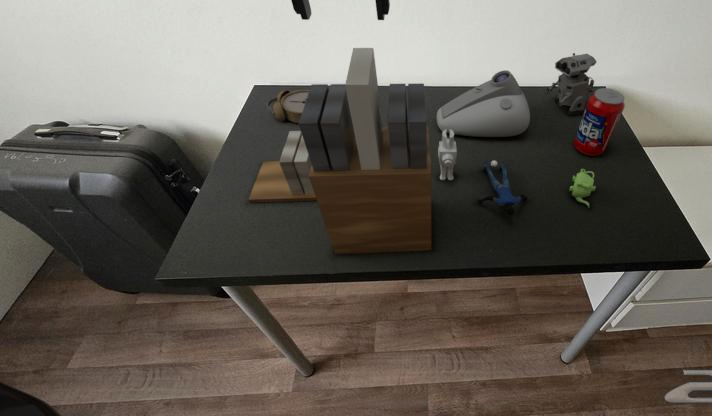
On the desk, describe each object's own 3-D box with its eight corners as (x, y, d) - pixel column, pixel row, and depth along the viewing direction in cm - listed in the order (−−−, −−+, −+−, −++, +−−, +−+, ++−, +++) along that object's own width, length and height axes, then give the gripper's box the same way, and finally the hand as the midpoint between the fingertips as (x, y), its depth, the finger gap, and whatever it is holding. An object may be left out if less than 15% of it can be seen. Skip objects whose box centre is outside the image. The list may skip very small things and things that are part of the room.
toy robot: (453, 164, 87) (456, 121, 78) (455, 186, 82) (458, 144, 73) (437, 164, 87) (438, 121, 78) (438, 187, 81) (439, 144, 73)
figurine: (537, 101, 107) (549, 50, 96) (573, 97, 109) (589, 47, 98) (550, 119, 101) (565, 67, 90) (588, 114, 103) (606, 63, 92)
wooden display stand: (318, 200, 77) (306, 164, 70) (249, 202, 76) (230, 166, 69) (326, 163, 85) (316, 127, 78) (264, 164, 84) (248, 128, 77)
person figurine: (469, 176, 87) (483, 227, 73) (470, 159, 84) (484, 210, 70) (514, 173, 88) (536, 224, 74) (517, 157, 85) (540, 206, 71)
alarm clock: (323, 114, 93) (260, 106, 90) (324, 130, 97) (263, 123, 94) (329, 91, 101) (270, 83, 98) (329, 106, 104) (272, 99, 101)
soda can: (610, 154, 91) (635, 101, 80) (585, 161, 89) (606, 107, 78) (591, 136, 96) (612, 83, 85) (566, 142, 94) (584, 89, 83)
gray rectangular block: (380, 169, 55) (368, 84, 45) (361, 170, 55) (345, 84, 45) (383, 130, 62) (373, 47, 51) (366, 130, 62) (353, 47, 51)
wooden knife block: (431, 250, 70) (431, 125, 49) (335, 254, 68) (291, 128, 47) (428, 204, 78) (427, 79, 57) (342, 207, 76) (308, 80, 55)
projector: (472, 92, 109) (477, 43, 98) (542, 120, 100) (555, 70, 89) (426, 127, 96) (425, 75, 85) (501, 162, 88) (511, 109, 77)
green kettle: (588, 208, 79) (597, 189, 74) (564, 200, 80) (571, 181, 76) (593, 190, 83) (601, 171, 78) (569, 183, 84) (576, 164, 80)
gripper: (200, -189, 28) (273, 31, 40) (391, -182, 28) (405, 31, 41) (233, -192, 32) (289, 4, 45) (395, -187, 33) (406, 5, 45)
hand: (344, 17), depth 43 cm, fingers open, 8 cm apart
